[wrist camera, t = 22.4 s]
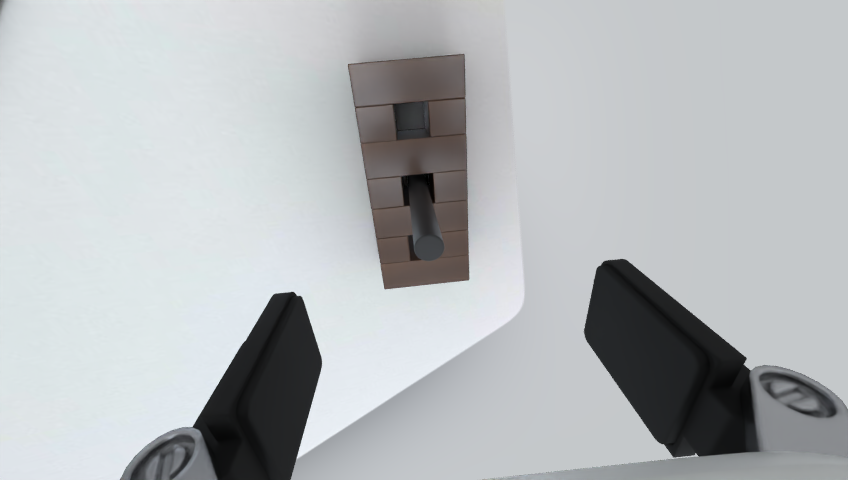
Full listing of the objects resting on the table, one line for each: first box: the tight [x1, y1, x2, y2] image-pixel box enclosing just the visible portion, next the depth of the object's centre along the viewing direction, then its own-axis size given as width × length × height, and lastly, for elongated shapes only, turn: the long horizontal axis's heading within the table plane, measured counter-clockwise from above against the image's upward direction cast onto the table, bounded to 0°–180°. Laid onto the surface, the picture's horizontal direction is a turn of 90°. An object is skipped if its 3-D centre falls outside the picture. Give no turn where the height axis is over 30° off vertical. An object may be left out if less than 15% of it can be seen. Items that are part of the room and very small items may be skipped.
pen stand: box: [348, 54, 469, 289], centre depth 26 cm, size 17×7×5 cm, turn 5°
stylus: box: [407, 174, 444, 261], centre depth 22 cm, size 2×2×14 cm
